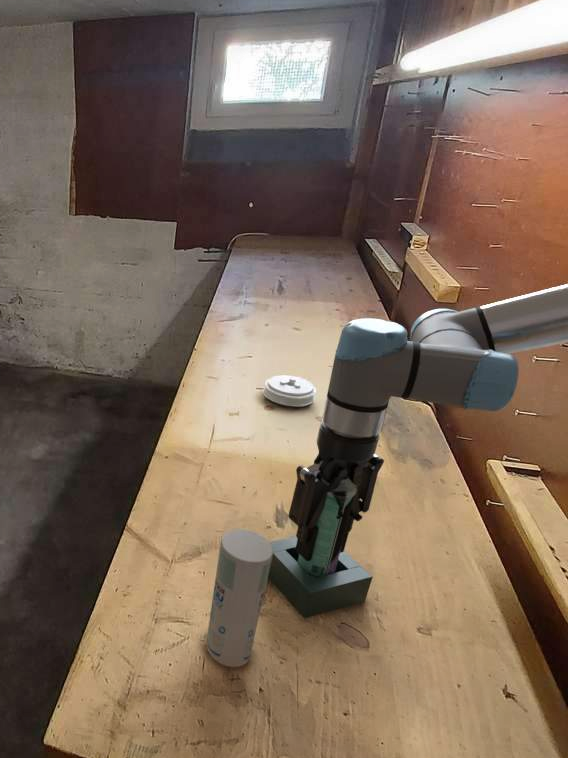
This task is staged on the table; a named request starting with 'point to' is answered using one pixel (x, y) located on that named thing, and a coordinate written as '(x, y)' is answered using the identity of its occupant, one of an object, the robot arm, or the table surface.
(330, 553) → the spray can
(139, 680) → the table surface
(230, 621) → the spray can
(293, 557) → the holder
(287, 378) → the lid
